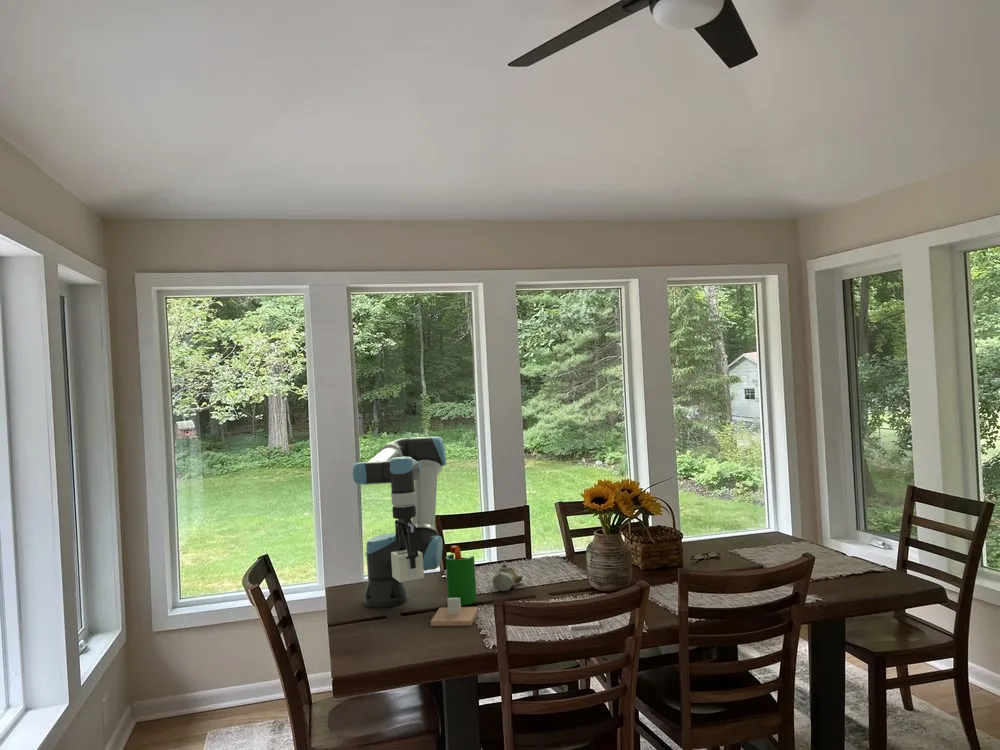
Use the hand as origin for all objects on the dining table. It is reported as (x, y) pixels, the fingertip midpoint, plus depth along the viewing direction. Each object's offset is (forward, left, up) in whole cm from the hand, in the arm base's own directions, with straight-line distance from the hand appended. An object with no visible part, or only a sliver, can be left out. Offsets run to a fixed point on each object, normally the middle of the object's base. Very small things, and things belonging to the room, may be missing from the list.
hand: (408, 575), depth 232 cm
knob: (0, 0, -1) cm, 1 cm away
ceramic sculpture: (+26, +36, -16) cm, 47 cm away
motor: (+13, +20, -16) cm, 28 cm away
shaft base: (+14, +3, -15) cm, 21 cm away
